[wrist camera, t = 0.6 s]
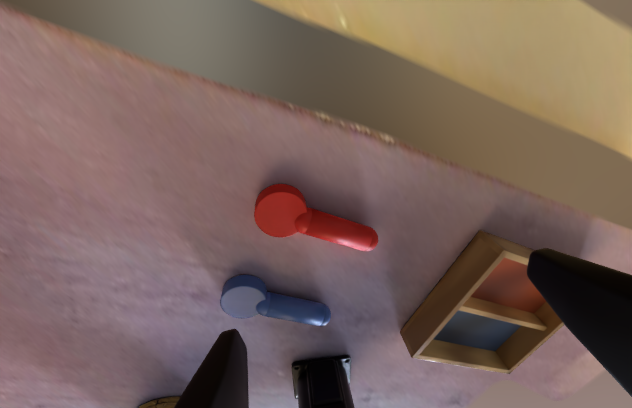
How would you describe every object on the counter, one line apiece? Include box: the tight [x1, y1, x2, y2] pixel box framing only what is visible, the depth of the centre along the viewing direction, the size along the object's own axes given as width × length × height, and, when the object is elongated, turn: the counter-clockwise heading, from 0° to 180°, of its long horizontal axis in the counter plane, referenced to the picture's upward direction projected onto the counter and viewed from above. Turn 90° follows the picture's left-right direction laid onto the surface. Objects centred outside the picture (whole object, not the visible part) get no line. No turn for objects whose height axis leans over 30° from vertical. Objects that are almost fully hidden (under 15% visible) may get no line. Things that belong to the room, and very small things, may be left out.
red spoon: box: [254, 184, 378, 251], centre depth 21 cm, size 10×4×2 cm, turn 66°
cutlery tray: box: [400, 230, 565, 374], centre depth 28 cm, size 14×14×3 cm
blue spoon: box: [220, 275, 331, 326], centre depth 25 cm, size 10×4×2 cm, turn 66°
